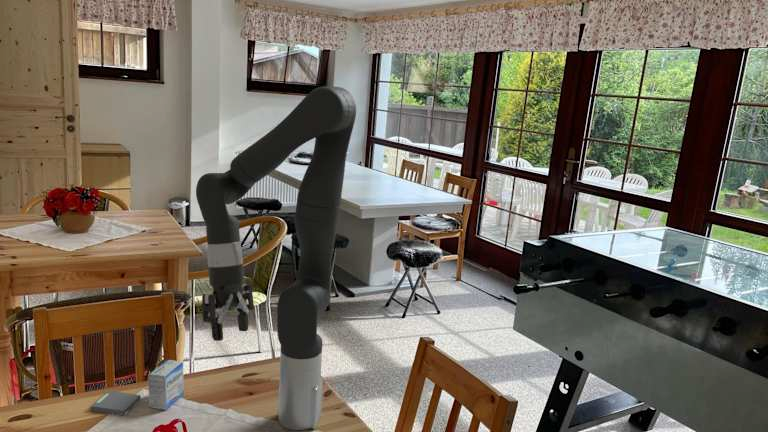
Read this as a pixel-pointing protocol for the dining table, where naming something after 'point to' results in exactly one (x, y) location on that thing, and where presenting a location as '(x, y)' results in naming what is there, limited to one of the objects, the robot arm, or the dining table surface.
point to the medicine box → (166, 384)
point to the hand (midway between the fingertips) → (231, 335)
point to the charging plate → (115, 402)
